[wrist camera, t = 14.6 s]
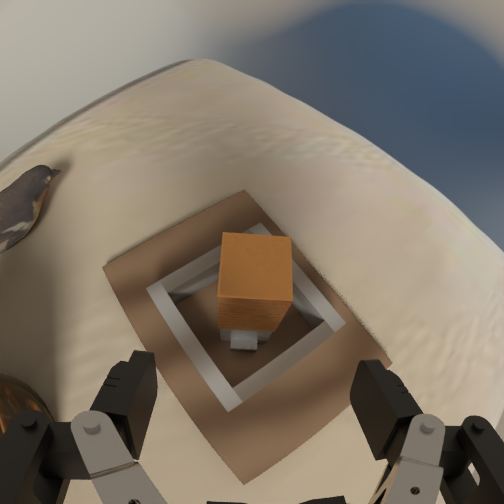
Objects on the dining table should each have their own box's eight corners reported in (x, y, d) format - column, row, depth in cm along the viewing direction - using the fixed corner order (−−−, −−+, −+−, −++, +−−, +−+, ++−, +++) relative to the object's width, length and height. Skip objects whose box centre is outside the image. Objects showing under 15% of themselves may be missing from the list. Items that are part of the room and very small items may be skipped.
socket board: (105, 271, 27) (90, 250, 24) (243, 195, 33) (246, 169, 29) (242, 482, 20) (246, 494, 16) (387, 365, 25) (410, 355, 22)
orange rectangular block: (266, 353, 24) (293, 313, 16) (218, 350, 24) (216, 309, 15) (267, 292, 27) (290, 226, 18) (222, 290, 27) (223, 221, 18)
